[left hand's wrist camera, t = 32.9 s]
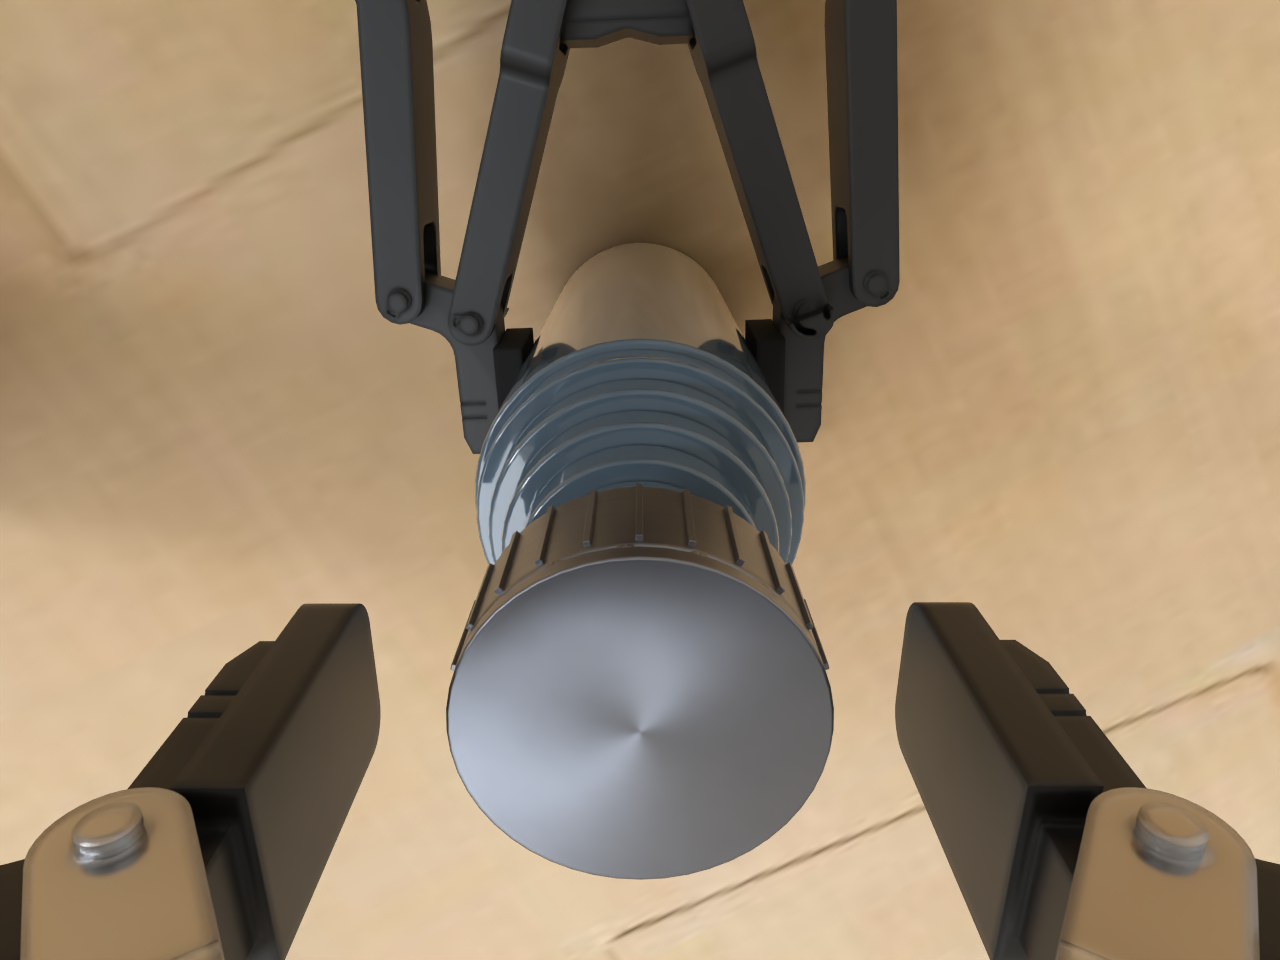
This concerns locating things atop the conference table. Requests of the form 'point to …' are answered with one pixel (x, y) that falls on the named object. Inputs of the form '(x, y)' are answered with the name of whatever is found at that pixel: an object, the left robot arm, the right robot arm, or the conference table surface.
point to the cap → (640, 687)
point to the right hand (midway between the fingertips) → (646, 543)
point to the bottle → (640, 404)
